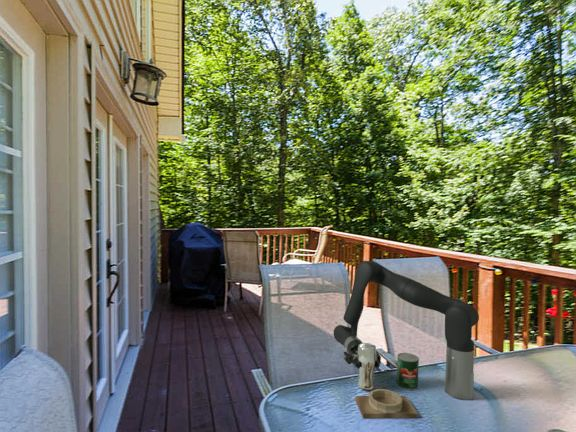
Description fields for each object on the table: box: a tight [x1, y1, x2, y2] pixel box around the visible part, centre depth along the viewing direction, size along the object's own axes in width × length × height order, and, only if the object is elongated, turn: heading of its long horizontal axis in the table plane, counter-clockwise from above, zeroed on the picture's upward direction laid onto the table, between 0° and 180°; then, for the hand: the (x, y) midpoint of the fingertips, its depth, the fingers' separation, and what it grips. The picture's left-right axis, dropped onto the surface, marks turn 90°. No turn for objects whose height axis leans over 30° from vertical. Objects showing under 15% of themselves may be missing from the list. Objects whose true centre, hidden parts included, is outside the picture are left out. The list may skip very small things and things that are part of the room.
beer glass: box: [357, 342, 377, 390], centre depth 135 cm, size 7×7×15 cm
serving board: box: [354, 388, 419, 419], centre depth 122 cm, size 18×11×4 cm, turn 93°
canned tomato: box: [395, 352, 420, 391], centre depth 139 cm, size 8×8×11 cm
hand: (368, 365), depth 133 cm, fingers closed on beer glass, 6 cm apart
